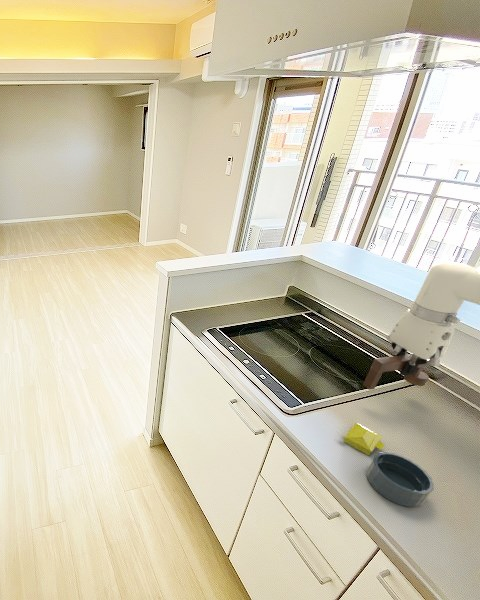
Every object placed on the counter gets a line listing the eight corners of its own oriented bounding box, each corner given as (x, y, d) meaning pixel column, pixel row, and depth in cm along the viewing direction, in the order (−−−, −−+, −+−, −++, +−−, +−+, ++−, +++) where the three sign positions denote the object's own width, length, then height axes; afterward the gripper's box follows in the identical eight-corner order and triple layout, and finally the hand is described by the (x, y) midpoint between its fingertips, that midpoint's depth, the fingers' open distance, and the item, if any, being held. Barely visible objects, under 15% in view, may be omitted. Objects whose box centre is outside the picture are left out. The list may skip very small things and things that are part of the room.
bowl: (391, 463, 77) (400, 449, 75) (435, 504, 68) (447, 489, 66) (354, 469, 76) (362, 455, 74) (394, 511, 67) (405, 497, 65)
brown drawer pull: (412, 374, 94) (427, 349, 89) (429, 385, 90) (445, 358, 85) (358, 381, 92) (370, 356, 88) (373, 392, 88) (386, 366, 84)
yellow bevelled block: (349, 420, 88) (353, 413, 87) (392, 443, 81) (397, 436, 80) (333, 440, 83) (337, 432, 82) (379, 466, 76) (384, 458, 75)
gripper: (485, 328, 73) (445, 389, 82) (412, 296, 87) (384, 351, 96) (456, 331, 73) (418, 393, 81) (387, 298, 87) (361, 354, 95)
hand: (400, 370), depth 89 cm, fingers closed on brown drawer pull, 2 cm apart
